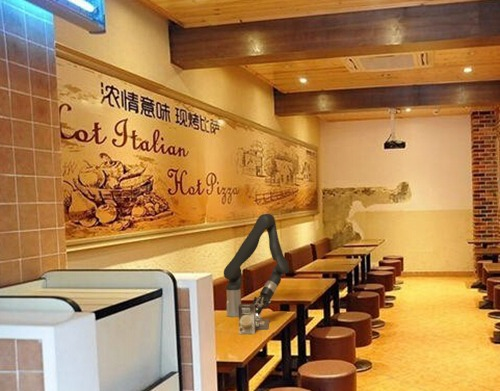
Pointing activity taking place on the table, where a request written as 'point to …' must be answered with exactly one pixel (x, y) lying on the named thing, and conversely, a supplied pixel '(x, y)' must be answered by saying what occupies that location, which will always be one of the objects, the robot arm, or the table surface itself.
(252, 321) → the coffee box
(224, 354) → the table surface
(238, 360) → the table surface
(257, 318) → the ball-topped cylinder
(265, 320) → the plate
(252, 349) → the table surface
